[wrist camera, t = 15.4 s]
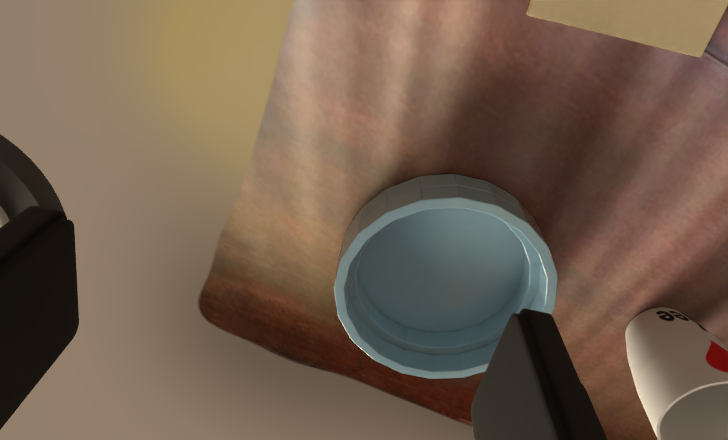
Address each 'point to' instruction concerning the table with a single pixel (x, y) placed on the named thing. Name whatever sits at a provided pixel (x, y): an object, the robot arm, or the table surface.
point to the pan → (440, 274)
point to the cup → (679, 375)
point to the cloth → (640, 20)
